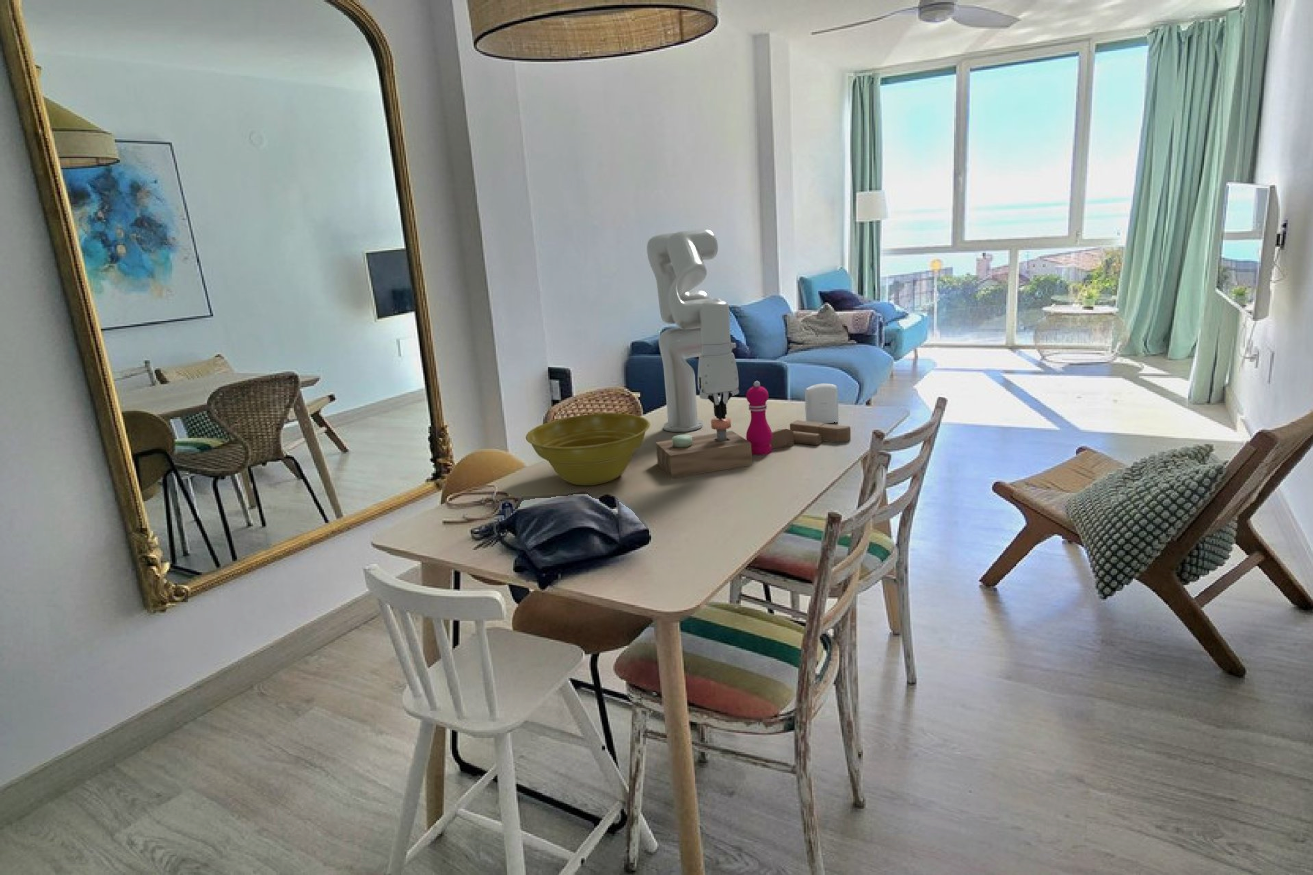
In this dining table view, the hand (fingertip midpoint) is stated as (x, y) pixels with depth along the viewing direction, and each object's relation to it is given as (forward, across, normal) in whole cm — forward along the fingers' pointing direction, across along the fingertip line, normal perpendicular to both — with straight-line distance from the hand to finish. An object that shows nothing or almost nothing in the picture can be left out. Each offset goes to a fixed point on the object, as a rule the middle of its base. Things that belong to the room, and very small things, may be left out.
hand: (720, 418), depth 199 cm
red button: (+8, 0, 0) cm, 8 cm away
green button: (+11, +11, 0) cm, 16 cm away
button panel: (+12, +6, 0) cm, 13 cm away
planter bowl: (+12, +35, -4) cm, 37 cm away
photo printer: (+12, -40, -21) cm, 47 cm away
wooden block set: (+13, -27, -3) cm, 30 cm away
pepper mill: (+12, -12, -3) cm, 17 cm away
